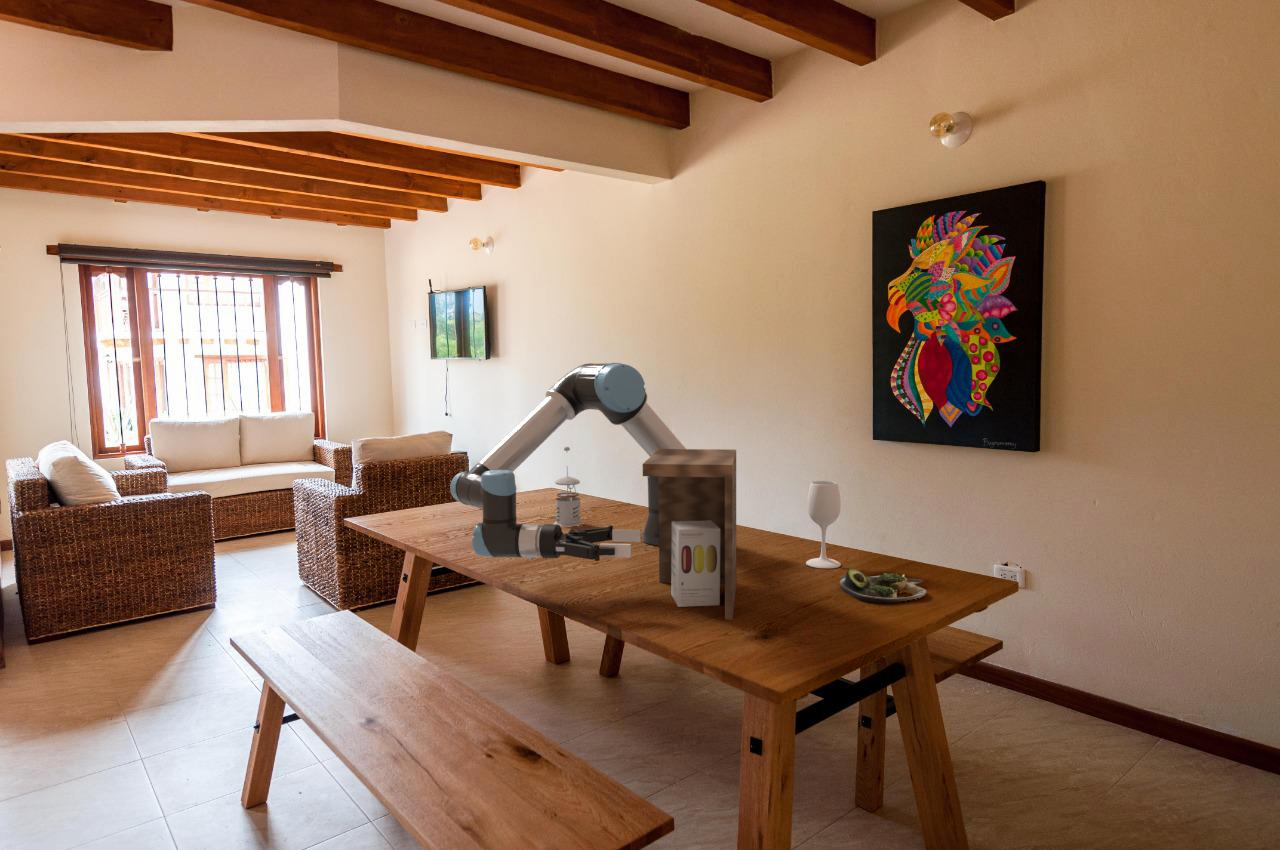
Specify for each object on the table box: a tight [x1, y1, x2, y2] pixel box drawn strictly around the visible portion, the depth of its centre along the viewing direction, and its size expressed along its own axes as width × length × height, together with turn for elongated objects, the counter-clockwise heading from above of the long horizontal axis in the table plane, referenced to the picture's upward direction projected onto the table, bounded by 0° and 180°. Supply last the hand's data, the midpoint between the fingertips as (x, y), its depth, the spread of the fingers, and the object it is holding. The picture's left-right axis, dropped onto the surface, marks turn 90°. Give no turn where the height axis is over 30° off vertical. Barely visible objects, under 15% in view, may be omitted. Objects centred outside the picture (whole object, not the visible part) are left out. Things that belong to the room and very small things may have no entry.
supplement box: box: [670, 520, 721, 608], centre depth 169 cm, size 10×9×17 cm
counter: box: [642, 448, 737, 621], centre depth 169 cm, size 18×26×32 cm
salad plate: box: [839, 568, 928, 604], centre depth 175 cm, size 19×18×5 cm
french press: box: [553, 446, 584, 527], centre depth 249 cm, size 10×12×25 cm
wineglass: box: [805, 480, 842, 570], centre depth 197 cm, size 9×9×21 cm
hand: (636, 543), depth 170 cm, fingers open, 13 cm apart
